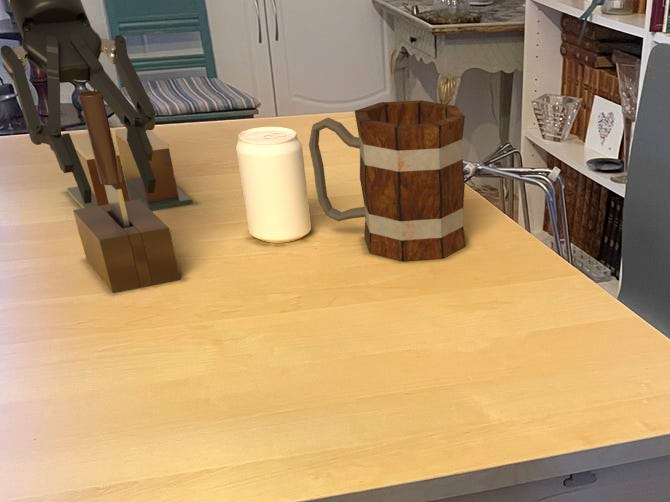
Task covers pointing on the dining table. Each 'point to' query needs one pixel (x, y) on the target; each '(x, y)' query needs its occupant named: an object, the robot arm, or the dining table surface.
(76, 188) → the twin slanted wooden posts
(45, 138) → the robot arm
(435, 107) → the mug
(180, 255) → the dining table surface
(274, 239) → the beverage can
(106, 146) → the knife
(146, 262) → the knife block
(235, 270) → the dining table surface
